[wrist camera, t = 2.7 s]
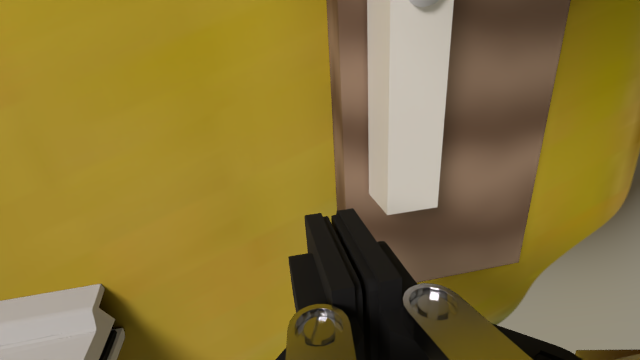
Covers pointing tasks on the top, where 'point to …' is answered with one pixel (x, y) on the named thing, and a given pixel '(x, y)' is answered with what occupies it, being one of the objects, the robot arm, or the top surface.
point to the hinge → (59, 327)
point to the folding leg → (407, 100)
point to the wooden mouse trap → (457, 132)
